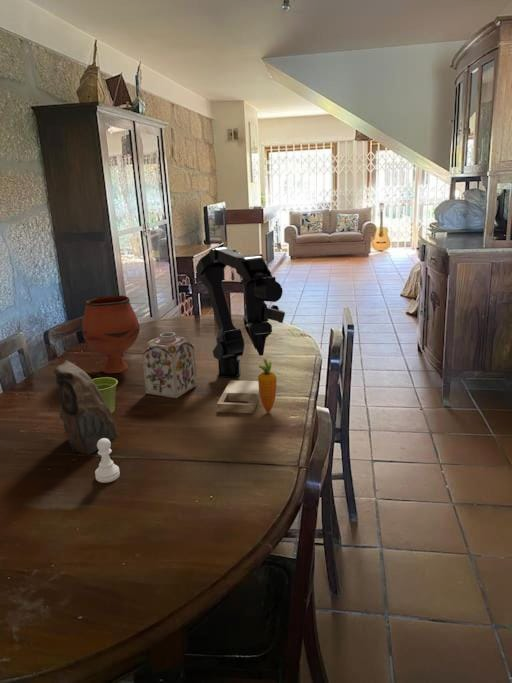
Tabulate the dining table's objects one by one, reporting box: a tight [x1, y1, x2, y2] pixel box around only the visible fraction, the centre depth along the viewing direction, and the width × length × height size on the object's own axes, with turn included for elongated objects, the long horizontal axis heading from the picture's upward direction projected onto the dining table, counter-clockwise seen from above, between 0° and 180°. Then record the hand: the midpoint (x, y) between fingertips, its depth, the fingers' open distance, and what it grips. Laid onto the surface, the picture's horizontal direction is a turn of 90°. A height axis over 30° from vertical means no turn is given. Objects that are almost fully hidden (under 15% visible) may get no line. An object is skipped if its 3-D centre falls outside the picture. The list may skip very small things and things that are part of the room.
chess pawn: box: [94, 438, 121, 484], centre depth 108 cm, size 5×5×9 cm
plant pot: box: [91, 376, 119, 414], centre depth 140 cm, size 9×9×9 cm
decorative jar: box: [141, 331, 198, 399], centre depth 154 cm, size 12×12×18 cm
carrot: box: [257, 358, 277, 413], centre depth 136 cm, size 5×5×15 cm
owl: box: [53, 359, 120, 456], centre depth 122 cm, size 13×13×20 cm
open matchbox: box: [216, 379, 260, 414], centre depth 147 cm, size 10×18×2 cm, turn 171°
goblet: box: [81, 294, 141, 374], centre depth 173 cm, size 19×19×25 cm
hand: (259, 352), depth 150 cm, fingers open, 9 cm apart
